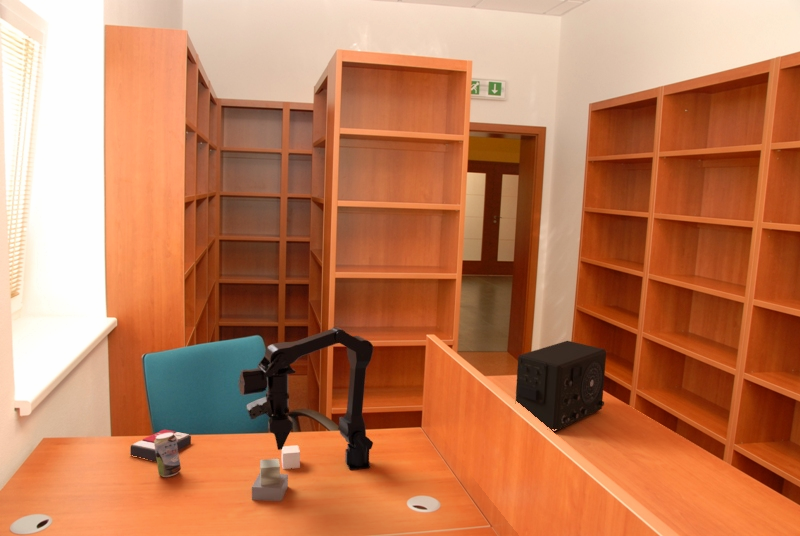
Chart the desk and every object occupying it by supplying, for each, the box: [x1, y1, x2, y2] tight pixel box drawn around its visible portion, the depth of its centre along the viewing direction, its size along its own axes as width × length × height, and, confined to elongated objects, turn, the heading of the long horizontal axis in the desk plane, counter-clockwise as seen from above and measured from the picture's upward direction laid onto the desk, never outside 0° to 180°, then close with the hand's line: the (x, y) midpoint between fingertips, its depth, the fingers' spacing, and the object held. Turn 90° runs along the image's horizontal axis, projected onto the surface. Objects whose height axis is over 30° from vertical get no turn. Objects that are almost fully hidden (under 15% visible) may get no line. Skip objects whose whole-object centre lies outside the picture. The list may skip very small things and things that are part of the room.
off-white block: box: [280, 445, 301, 470], centre depth 185 cm, size 5×5×5 cm
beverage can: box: [154, 432, 182, 478], centre depth 176 cm, size 6×7×12 cm
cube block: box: [259, 458, 281, 486], centre depth 167 cm, size 5×5×5 cm
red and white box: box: [130, 429, 192, 463], centre depth 192 cm, size 11×4×15 cm
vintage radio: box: [515, 340, 607, 431], centre depth 229 cm, size 38×20×25 cm, turn 135°
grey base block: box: [251, 472, 289, 502], centre depth 168 cm, size 8×8×4 cm
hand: (278, 442), depth 173 cm, fingers open, 9 cm apart
